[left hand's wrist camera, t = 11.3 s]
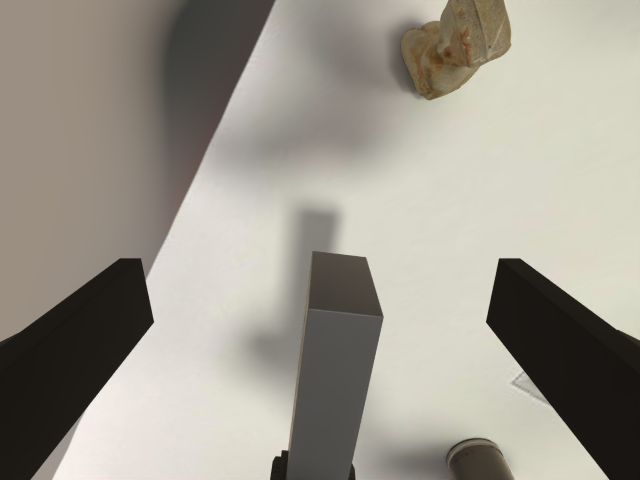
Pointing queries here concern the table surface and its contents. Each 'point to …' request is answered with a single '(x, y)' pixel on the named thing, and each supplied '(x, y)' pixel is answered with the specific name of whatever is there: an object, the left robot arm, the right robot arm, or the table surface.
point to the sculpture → (456, 45)
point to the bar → (333, 366)
